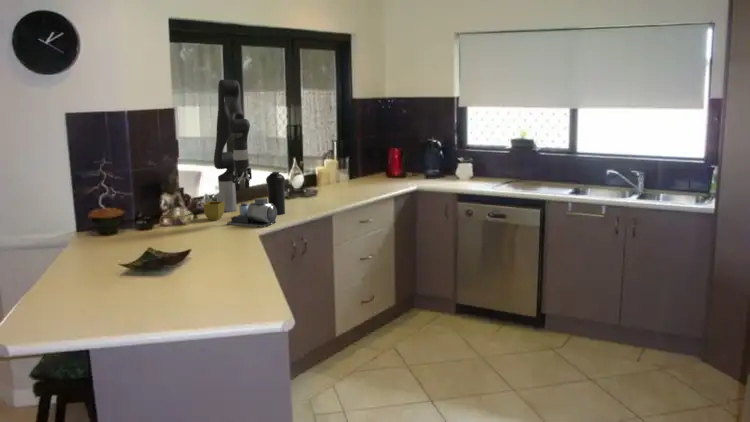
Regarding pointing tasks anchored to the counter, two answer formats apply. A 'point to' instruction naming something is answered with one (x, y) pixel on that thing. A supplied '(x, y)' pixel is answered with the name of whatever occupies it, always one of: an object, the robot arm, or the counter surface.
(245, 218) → the electric motor
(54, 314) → the counter surface
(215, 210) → the flower pot
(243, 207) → the blue capped cylinder
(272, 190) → the water bottle
